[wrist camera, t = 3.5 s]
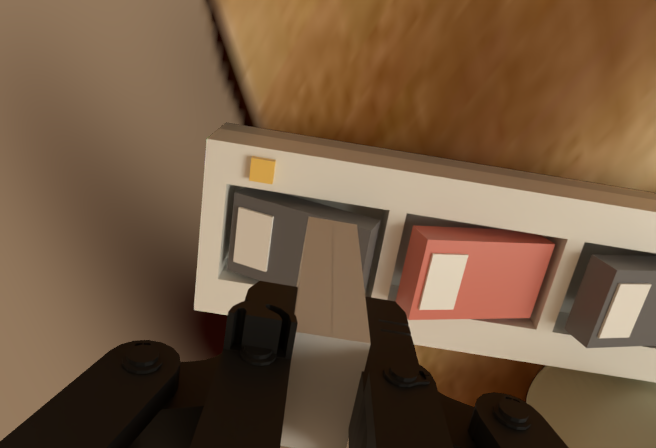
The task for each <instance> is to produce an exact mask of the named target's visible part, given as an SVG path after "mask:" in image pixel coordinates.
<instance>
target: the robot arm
mask: <svg viewBox="0 0 656 448" xmlns="http://www.w3.org/2000/svg"><path fill="white" fill-rule="evenodd" d="M408 325H409V324H408V320H407V316H406V312H405V311H404V310H403V309H402V308H401V307H400V306H399V305H398V304H397V303H396V302H395V301H390V300H384V299H378V298H372V297H365V290H364V281H363V273H362V264H361V255H360V247H359V238H358V229H357V225H356V224H350V223H344V222H338V221H332V220H327V219H321V218H315V217H309V218H308V223H307V229H306V235H305V241H304V246H303V252H302V258H301V264H300V269H299V275H298V281H297V287H295V286H289V285H283V284H277V283H271V282H265V281H258V282H257V283H256V284H254V285H253V286H251V287H250V288H249V289H248V291H247V294H246V297H245V301H243V302H240V303H238V304H236V305H234V306H233V307H232V308H231V309H230V310H229V311H228V316H227V324H226V333H225V341H224V348H223V352H222V353H221V354H220V355H218V356H216V357H213V358H210V359H207V360H201V361H193V362H180V357H179V354H178V353H177V352H176V351H175V350H174V349H173V348H172V347H170V346H168V345H166V344H164V343H161V342H156V341H150V340H140V341H132V342H128V343H124V344H121V345H119V346H117V347H116V348H114V349H112V350H110V351H109V352H108V353H106V354H105V355H104V356H103V357H102V358H100V359H99V360H98V361H97V362H96V363H94V364H93V365H92V366H91V367H90V368H88V369H87V370H86V371H85V372H84V373H82V374H81V375H80V376H79V377H77V378H76V379H75V380H74V381H73V382H71V383H70V384H69V385H68V386H67V387H65V388H64V389H63V390H62V391H61V392H59V393H58V394H57V395H56V396H55V397H53V398H52V399H51V400H50V401H49V402H47V403H46V404H45V405H44V406H42V407H41V408H40V409H39V410H38V411H36V412H35V413H34V414H33V415H32V416H30V417H29V418H28V419H27V420H26V421H24V422H23V423H22V424H21V425H20V426H18V427H17V428H16V429H15V430H14V431H12V432H11V433H10V434H9V435H7V436H6V437H5V438H4V439H3V440H2V441H0V448H280V446H286V447H293V448H346V446H347V441H348V437H349V448H569V447H568V446H567V445H566V444H565V443H564V441H563V440H562V439H561V438H560V437H559V435H558V434H557V433H556V432H555V431H554V429H553V428H552V427H551V426H550V425H549V423H548V422H547V421H546V420H545V419H544V417H543V416H542V415H541V414H540V413H539V412H538V411H536V410H535V409H534V408H533V407H532V406H531V405H529V404H527V403H526V402H524V401H522V400H521V399H519V398H516V397H513V396H511V395H507V394H502V393H494V392H493V393H487V394H483V395H482V396H480V397H479V398H478V399H477V401H476V404H475V407H472V406H469V405H467V404H464V403H461V402H459V401H456V400H453V399H451V398H449V397H447V396H444V395H443V394H441V393H440V392H438V390H437V387H436V383H435V381H434V379H433V377H432V375H431V374H430V373H429V372H428V371H427V370H426V369H425V368H423V367H422V366H421V365H419V363H418V359H417V356H416V352H415V348H414V344H413V340H412V336H411V332H410V328H409V326H408Z"/></svg>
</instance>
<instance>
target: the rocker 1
mask: <svg viewBox="0 0 656 448" xmlns="http://www.w3.org/2000/svg"><path fill="white" fill-rule="evenodd" d="M309 217H315V218H321V219H327V220H332V221H338V222H344V223H350V224H356V225H357V229H358V238H359V247H360V255H361V264H362V273H363V281H364V290H365V293H366V288H367V283H368V278H369V273H370V269H371V264H372V259H373V254H374V249H375V244H376V240H377V235H378V230H379V225H380V220H378V219H374V218H371V217H367V216H364V215H360V214H356V213H353V212H349V211H345V210H342V209H338V208H334V207H331V206H327V205H323V204H320V203H316V202H312V201H309V200H305V199H301V198H298V197H294V196H290V195H287V194H283V193H279V192H273V191H267V190H261V189H255V188H248V187H245V188H243V189H241V190H239V191H236V192H235V193H234V203H233V214H232V224H231V234H230V244H229V255H228V265H227V270H229V271H232V272H235V273H238V274H241V275H244V276H247V277H250V278H254V279H257V280H260V281H265V282H271V283H277V284H283V285H289V286H295V287H297V281H298V275H299V269H300V264H301V258H302V252H303V246H304V241H305V235H306V229H307V223H308V218H309Z"/></svg>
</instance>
